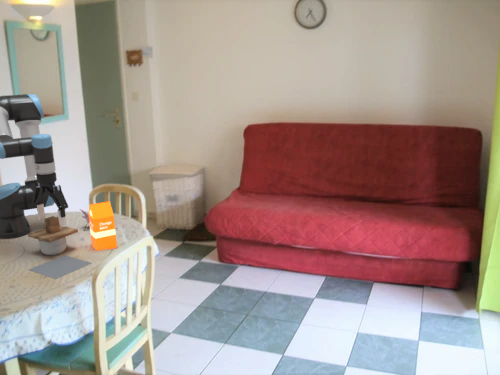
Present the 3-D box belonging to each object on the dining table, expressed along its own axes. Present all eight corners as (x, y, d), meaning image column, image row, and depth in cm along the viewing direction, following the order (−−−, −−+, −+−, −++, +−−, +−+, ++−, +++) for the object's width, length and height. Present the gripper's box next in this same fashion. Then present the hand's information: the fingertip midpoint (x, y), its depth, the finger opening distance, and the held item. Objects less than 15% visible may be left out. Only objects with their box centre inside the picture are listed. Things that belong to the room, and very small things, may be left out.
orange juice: (117, 247, 217) (112, 203, 212) (96, 252, 212) (91, 206, 207) (111, 242, 223) (107, 199, 218) (91, 246, 219) (86, 202, 214)
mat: (28, 271, 195) (27, 269, 195) (64, 256, 209) (64, 254, 208) (56, 280, 186) (55, 279, 186) (92, 264, 200) (92, 263, 200)
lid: (28, 236, 209) (26, 220, 207) (56, 226, 221) (54, 211, 219) (50, 242, 202) (47, 225, 200) (78, 232, 214) (76, 215, 212)
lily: (101, 234, 237) (106, 214, 239) (76, 228, 232) (81, 208, 234) (96, 234, 247) (101, 215, 249) (72, 229, 242) (77, 209, 244)
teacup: (58, 259, 206) (56, 240, 204) (34, 257, 208) (32, 239, 206) (76, 246, 219) (74, 229, 217) (53, 245, 221) (51, 228, 219)
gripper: (19, 171, 208) (26, 219, 214) (57, 177, 195) (64, 229, 201) (35, 167, 215) (41, 214, 220) (73, 173, 201) (79, 224, 207)
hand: (52, 221), depth 210 cm, fingers open, 13 cm apart
